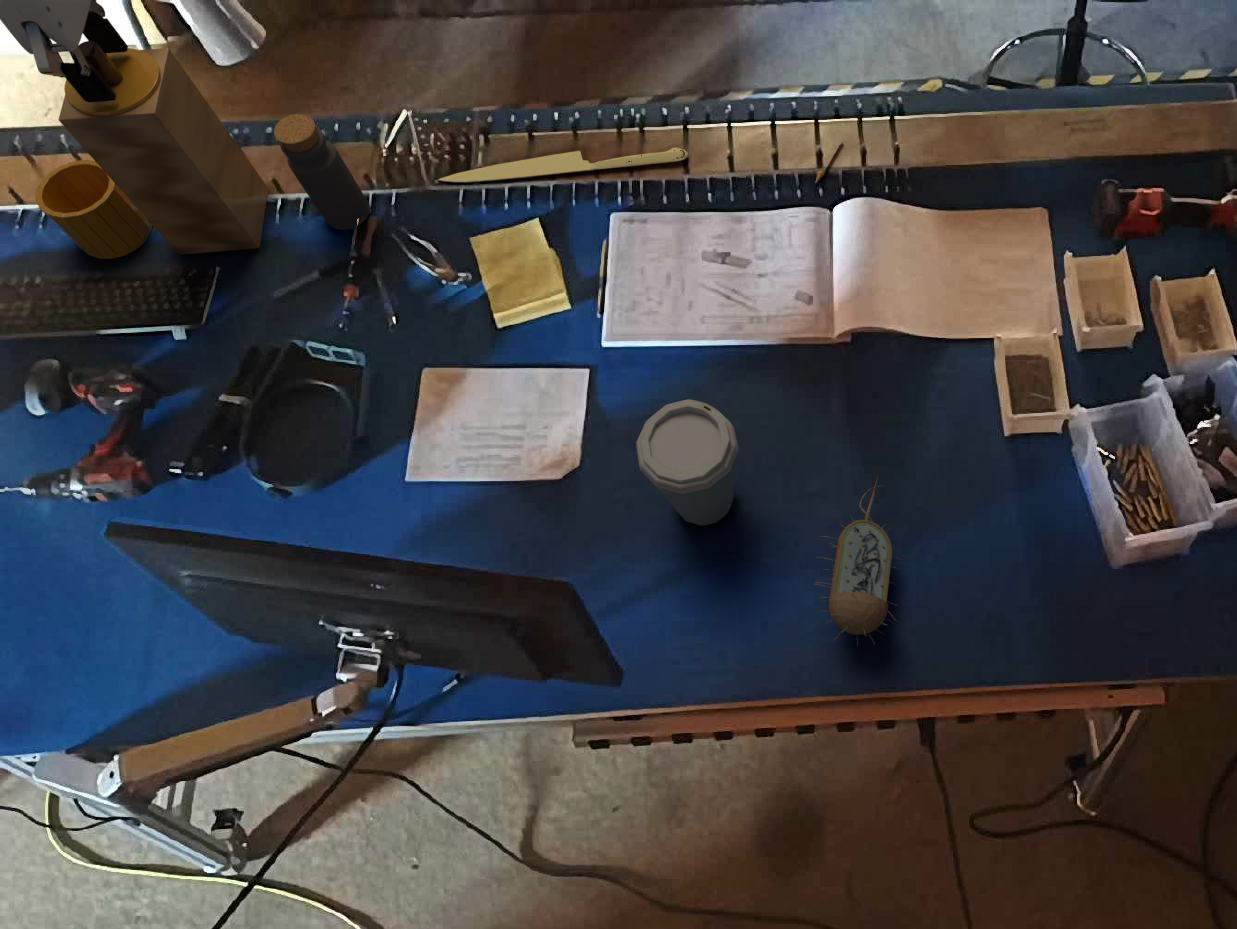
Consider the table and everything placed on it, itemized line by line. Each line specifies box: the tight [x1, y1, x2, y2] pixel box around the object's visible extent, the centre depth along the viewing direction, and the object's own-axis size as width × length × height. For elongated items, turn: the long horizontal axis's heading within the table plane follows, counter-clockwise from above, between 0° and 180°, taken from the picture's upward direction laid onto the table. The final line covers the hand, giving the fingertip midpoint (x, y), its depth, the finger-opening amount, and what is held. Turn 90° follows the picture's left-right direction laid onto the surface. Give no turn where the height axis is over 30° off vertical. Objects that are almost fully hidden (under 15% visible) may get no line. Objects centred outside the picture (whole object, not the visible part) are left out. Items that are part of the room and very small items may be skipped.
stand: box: [58, 47, 270, 255], centre depth 128 cm, size 10×10×23 cm
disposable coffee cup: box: [635, 398, 739, 526], centre depth 117 cm, size 11×11×15 cm
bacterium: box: [815, 467, 903, 647], centre depth 116 cm, size 11×20×10 cm, turn 174°
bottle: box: [273, 113, 371, 231], centre depth 133 cm, size 6×6×15 cm
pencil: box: [814, 170, 826, 184], centre depth 145 cm, size 1×8×1 cm, turn 157°
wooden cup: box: [35, 159, 154, 260], centre depth 134 cm, size 9×9×8 cm
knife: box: [437, 147, 689, 183], centre depth 144 cm, size 1×34×5 cm
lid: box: [64, 40, 161, 116], centre depth 116 cm, size 10×10×5 cm
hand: (107, 73), depth 117 cm, fingers open, 6 cm apart
